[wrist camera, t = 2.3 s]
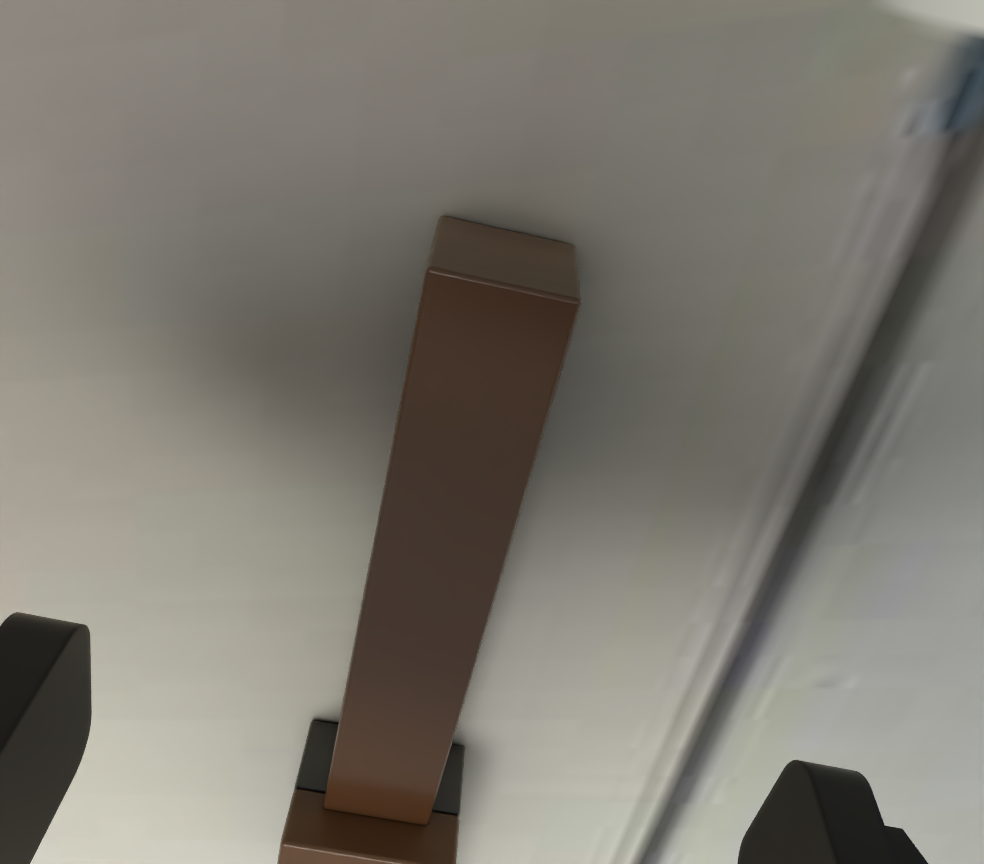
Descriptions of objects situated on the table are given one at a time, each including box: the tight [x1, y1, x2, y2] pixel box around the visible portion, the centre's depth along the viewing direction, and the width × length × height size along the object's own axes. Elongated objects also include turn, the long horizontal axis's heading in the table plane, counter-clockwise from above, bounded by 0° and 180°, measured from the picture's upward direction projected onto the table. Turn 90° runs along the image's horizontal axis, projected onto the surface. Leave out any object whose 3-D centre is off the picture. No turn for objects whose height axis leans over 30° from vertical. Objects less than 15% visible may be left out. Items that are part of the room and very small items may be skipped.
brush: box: [277, 216, 581, 864], centre depth 16 cm, size 16×3×3 cm, turn 168°
